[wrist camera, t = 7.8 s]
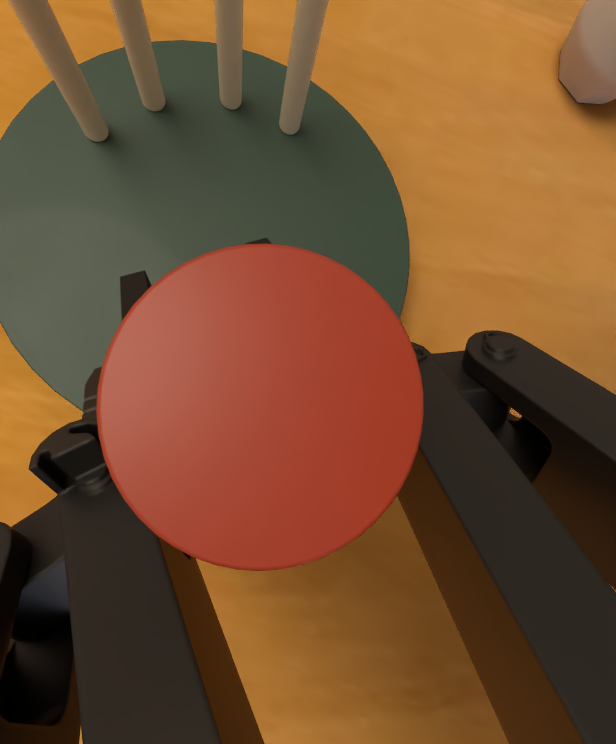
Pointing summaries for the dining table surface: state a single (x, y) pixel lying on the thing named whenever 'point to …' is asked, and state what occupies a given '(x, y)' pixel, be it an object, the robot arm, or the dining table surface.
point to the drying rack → (215, 284)
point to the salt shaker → (591, 54)
